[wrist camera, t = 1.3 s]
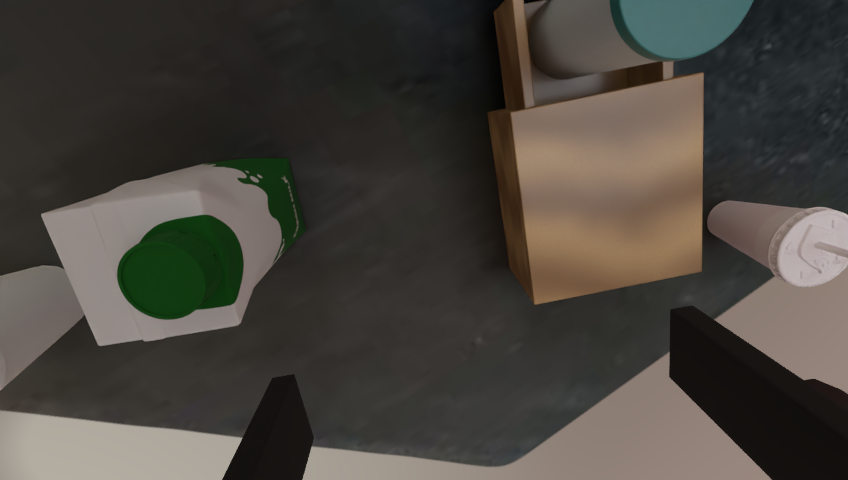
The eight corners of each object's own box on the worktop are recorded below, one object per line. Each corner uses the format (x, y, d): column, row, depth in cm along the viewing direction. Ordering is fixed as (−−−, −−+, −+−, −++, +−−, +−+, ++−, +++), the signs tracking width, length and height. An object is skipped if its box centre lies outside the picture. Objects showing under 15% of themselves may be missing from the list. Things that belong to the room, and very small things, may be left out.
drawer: (469, -85, 32) (485, -132, 25) (631, -120, 31) (686, -175, 25) (502, 155, 37) (521, 163, 31) (640, 126, 37) (687, 129, 31)
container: (521, -1, 32) (614, -89, 18) (605, -18, 32) (766, -121, 18) (531, 88, 34) (622, 72, 20) (610, 72, 34) (758, 44, 20)
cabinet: (487, 112, 37) (510, 112, 29) (639, 80, 37) (704, 72, 29) (509, 268, 41) (534, 305, 34) (645, 241, 41) (702, 271, 33)
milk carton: (317, 238, 40) (238, 355, 20) (224, 252, 40) (57, 383, 20) (296, 145, 37) (181, 182, 18) (196, 160, 37) (-26, 213, 18)
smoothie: (746, 174, 40) (920, 206, 26) (765, 229, 41) (936, 285, 28) (684, 208, 40) (823, 255, 27) (705, 260, 42) (844, 329, 29)
